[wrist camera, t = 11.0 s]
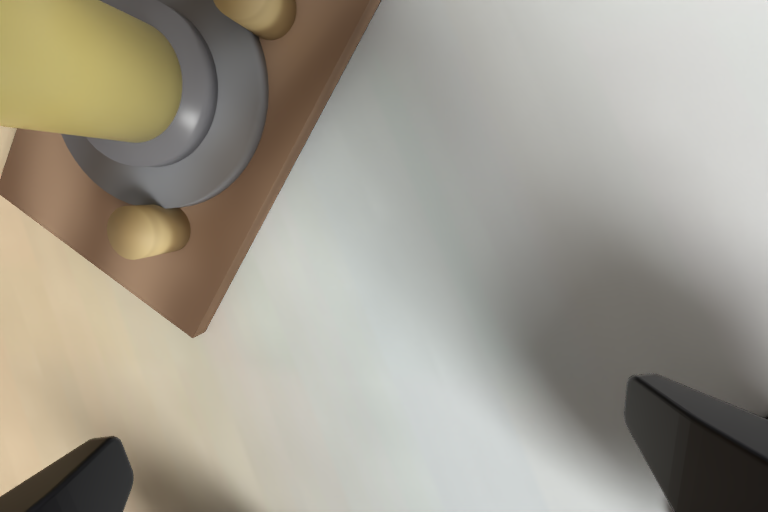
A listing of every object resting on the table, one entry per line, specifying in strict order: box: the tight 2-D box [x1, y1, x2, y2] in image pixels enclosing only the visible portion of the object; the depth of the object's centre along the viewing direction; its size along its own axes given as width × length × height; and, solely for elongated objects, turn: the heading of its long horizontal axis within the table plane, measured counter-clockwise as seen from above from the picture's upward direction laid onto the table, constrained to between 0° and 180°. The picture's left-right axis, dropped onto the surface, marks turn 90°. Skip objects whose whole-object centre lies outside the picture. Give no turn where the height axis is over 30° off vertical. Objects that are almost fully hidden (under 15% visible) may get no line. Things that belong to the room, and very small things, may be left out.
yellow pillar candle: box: [0, 0, 218, 167], centre depth 14 cm, size 7×7×12 cm
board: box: [0, 0, 381, 338], centre depth 20 cm, size 15×20×4 cm
